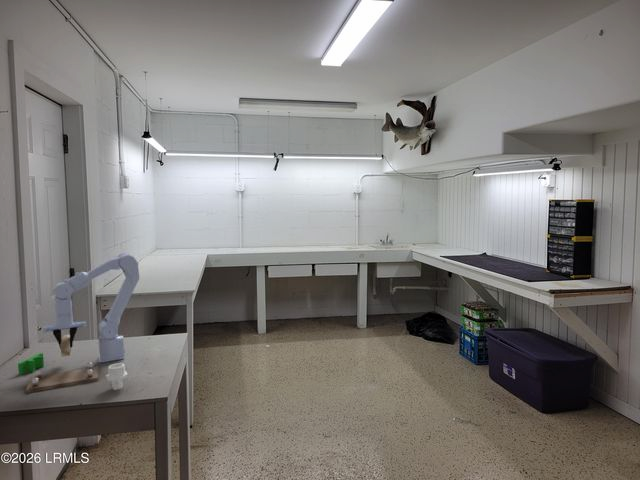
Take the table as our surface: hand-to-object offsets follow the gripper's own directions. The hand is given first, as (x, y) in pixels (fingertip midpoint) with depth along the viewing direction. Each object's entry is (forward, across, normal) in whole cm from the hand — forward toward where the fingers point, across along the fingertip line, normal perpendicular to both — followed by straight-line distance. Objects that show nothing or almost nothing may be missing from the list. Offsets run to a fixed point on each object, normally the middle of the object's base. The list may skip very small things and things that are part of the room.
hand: (66, 347), depth 171 cm
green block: (+8, +12, -3) cm, 14 cm away
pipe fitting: (+8, -17, +31) cm, 36 cm away
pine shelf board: (+2, 0, 0) cm, 2 cm away
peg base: (+8, 0, +15) cm, 17 cm away
